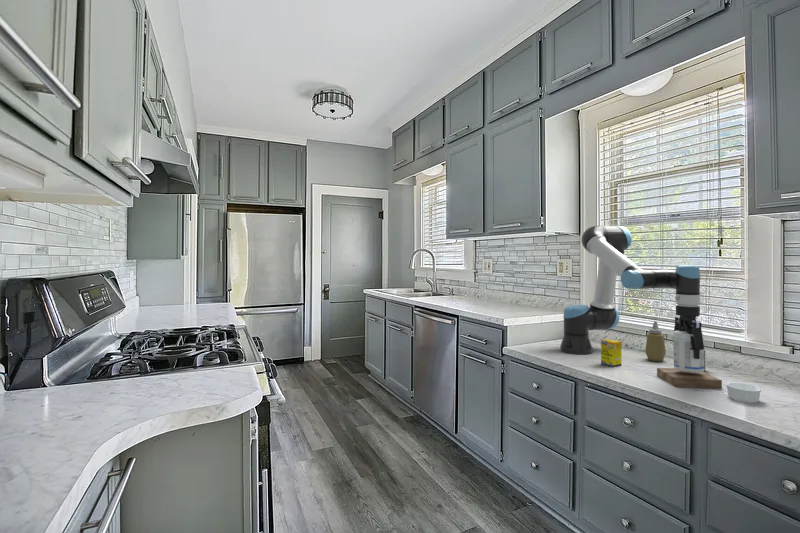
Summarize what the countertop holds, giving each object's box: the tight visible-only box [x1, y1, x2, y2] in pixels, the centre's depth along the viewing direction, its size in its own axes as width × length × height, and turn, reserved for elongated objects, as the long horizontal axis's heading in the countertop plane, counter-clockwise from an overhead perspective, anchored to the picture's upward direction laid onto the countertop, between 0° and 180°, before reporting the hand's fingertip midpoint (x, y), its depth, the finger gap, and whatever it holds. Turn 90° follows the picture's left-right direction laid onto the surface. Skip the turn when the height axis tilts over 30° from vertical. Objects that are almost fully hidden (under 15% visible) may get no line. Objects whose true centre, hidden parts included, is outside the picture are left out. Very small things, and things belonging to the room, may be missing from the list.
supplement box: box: [600, 338, 622, 368], centre depth 178 cm, size 6×6×11 cm
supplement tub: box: [672, 330, 705, 373], centre depth 153 cm, size 10×10×15 cm
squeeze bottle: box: [645, 321, 667, 362], centre depth 185 cm, size 8×8×18 cm
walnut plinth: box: [656, 367, 723, 390], centre depth 153 cm, size 15×15×3 cm
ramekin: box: [725, 382, 762, 404], centre depth 134 cm, size 9×9×4 cm
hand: (687, 363), depth 153 cm, fingers closed on supplement tub, 9 cm apart
